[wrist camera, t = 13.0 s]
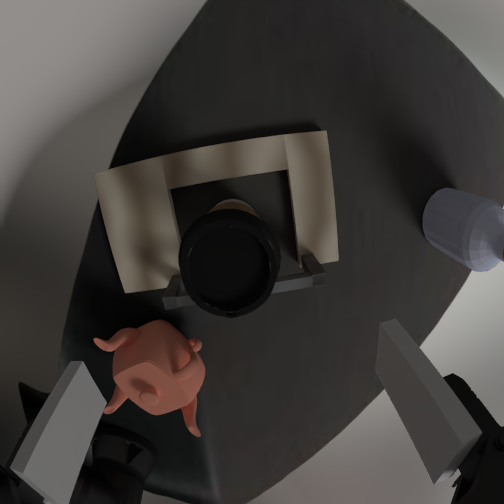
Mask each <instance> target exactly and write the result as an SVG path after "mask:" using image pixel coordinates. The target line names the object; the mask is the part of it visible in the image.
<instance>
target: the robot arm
mask: <svg viewBox="0 0 504 504" xmlns="http://www.w3.org/2000/svg"><path fill="white" fill-rule="evenodd" d="M375 372H376V374H377V375H378V377H379V379H380V381H381V383H382V385H383V386H384V388H385V390H386V392H387V394H388V395H389V397H390V399H391V401H392V403H393V405H394V407H395V408H396V410H397V412H398V414H399V416H400V418H401V420H402V422H403V424H404V426H405V427H406V429H407V431H408V433H409V435H410V437H411V439H412V441H413V443H414V445H415V447H416V449H417V451H418V453H419V455H420V457H421V459H422V461H423V463H424V465H425V467H426V469H427V471H428V473H429V475H430V477H431V479H432V482H433V484H434V485H435V484H437V483H439V482H441V481H443V480H445V479H447V478H449V477H451V476H452V475H453V474H454V473H455V471H456V470H457V469H459V470H460V472H461V475H460V476H459V477H458V478H457V480H456V481H455V482H454V484H453V486H452V487H455V486H456V485H457V487H456V490H455V493H454V496H453V499H452V502H451V504H504V427H501V426H500V425H499V424H498V423H497V422H496V421H495V419H494V418H493V417H492V415H491V414H490V413H489V411H488V410H487V409H486V407H485V406H484V405H483V403H482V402H481V401H480V400H479V399H478V398H477V397H476V394H475V393H474V392H473V391H471V388H470V387H469V386H468V384H467V383H466V382H465V381H464V380H463V379H462V378H460V377H459V376H457V375H455V374H453V373H452V374H450V375H448V376H445V377H442V376H441V375H440V373H439V372H438V371H437V369H436V368H435V367H434V366H433V364H432V363H431V362H430V360H429V359H428V358H427V357H426V355H425V354H424V353H423V352H422V350H421V349H420V348H419V347H418V345H417V344H416V343H415V342H414V340H413V339H412V338H411V337H410V335H409V334H408V333H407V332H406V331H405V329H404V328H403V327H402V326H401V324H400V323H399V322H398V321H397V320H396V319H393V320H389V321H385V322H382V323H380V328H379V339H378V349H377V358H376V367H375ZM106 403H107V402H106V401H105V399H104V398H103V396H102V394H101V393H100V391H99V389H98V387H97V386H96V384H95V382H94V381H93V379H92V377H91V375H90V373H89V372H88V370H87V368H86V366H85V364H84V362H83V361H71V362H70V363H69V365H68V366H67V368H66V370H65V371H64V373H63V374H62V376H61V377H60V379H59V381H58V382H57V384H56V385H55V387H54V389H53V390H52V392H51V394H50V395H49V397H48V399H47V400H46V402H45V404H44V405H43V407H42V409H41V410H40V412H39V414H38V416H37V417H36V419H33V420H32V421H31V422H30V423H29V424H28V425H27V426H26V428H25V430H24V431H23V433H22V437H20V439H19V441H18V443H17V444H16V446H15V448H14V450H13V452H12V454H11V456H10V458H9V460H8V462H7V464H6V466H5V467H4V468H3V467H2V466H1V465H0V504H141V499H142V493H143V488H144V483H145V480H146V479H147V478H148V476H149V475H150V473H151V472H152V470H153V469H154V467H155V466H156V464H157V460H158V451H157V449H156V448H155V447H154V446H153V445H152V444H151V443H150V442H149V441H147V440H146V439H144V438H143V437H141V436H139V435H137V434H135V433H132V432H130V431H127V430H124V429H120V428H115V427H102V428H99V429H97V430H96V427H97V425H98V422H99V420H100V417H101V415H102V413H103V410H104V408H105V405H106ZM95 430H96V431H95ZM94 432H95V434H94ZM93 435H94V436H93ZM92 437H93V439H92ZM91 440H92V455H93V462H92V465H91V468H90V467H88V466H86V465H85V464H83V461H84V458H85V456H86V453H87V450H88V448H89V445H90V442H91Z"/></svg>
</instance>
